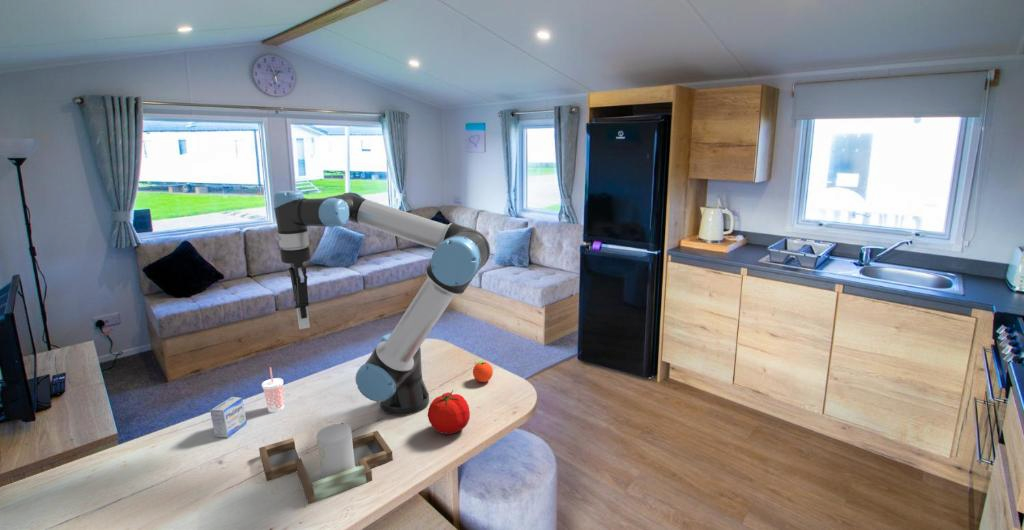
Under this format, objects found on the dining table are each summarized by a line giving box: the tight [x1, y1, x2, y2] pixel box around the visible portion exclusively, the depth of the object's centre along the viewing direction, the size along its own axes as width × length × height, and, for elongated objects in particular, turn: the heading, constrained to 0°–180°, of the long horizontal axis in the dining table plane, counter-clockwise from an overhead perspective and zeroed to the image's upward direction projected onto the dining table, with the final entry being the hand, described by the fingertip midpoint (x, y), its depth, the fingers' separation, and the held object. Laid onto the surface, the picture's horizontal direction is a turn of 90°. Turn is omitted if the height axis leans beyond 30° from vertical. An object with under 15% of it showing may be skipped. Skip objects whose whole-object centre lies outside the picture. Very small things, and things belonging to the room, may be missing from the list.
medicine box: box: [209, 396, 247, 438], centre depth 148 cm, size 8×4×9 cm, turn 168°
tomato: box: [427, 390, 471, 435], centre depth 145 cm, size 12×12×11 cm
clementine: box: [472, 360, 494, 383], centre depth 175 cm, size 8×7×7 cm
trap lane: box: [258, 422, 394, 504], centre depth 132 cm, size 29×26×4 cm
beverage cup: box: [261, 366, 285, 413], centre depth 159 cm, size 6×6×14 cm
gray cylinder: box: [315, 423, 356, 479], centre depth 126 cm, size 8×8×12 cm
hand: (304, 327), depth 146 cm, fingers closed
